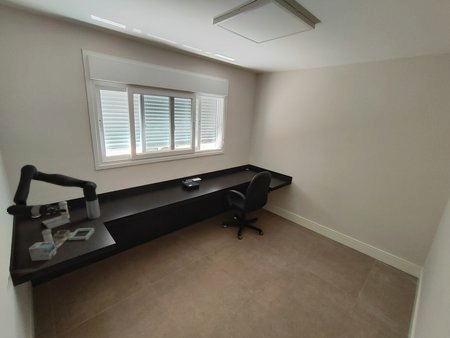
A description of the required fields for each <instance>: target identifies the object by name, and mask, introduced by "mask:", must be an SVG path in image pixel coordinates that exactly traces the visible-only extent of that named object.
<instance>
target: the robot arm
mask: <svg viewBox="0 0 450 338" xmlns="http://www.w3.org/2000/svg"><path fill="white" fill-rule="evenodd" d="M18 181H19V182H18V185H17V188H16V191H15V193H14V196H13V200H12V201H13V203H15V204H12V205H10V206H8V207H7V208H6V210H7V212H8V213H7V212H6V213H7V214H8V215H10V216H14V217H17V218H19V217H23V216H24V215H25V216H47V217H48V216H53V215H58V214H61V212H67V210H66V209H60V206H59V203H58V204H57V205H52V204H36V205H33V204H32V205H28V203H27V202H28V201H27V200H28V197H29V194H30V189H31V188H30V187H31V184H32V181H37V182H38V181H39V182H44V183H47V184H51V185H56V186H60V187H63V188H64V187H66V188H80V189H82V192H83V198H84V200H85V205H86V211H87V217H88V219H89V220H95V219H99V218H100V216H101V210H100V205H99V198H98V195H97V191H96V189H97V186H98V185H97V183H95V182H94V181H91V180H90V181H89V180H85V179H79V178H76V177H71V176H70V175H69V176H68V175H65V174H61V173H47V172H42V171H40V170H38V169H37V167H36V166H35V165H33V164H24V165H23V166H22V167H21V168H20V177H19V180H18ZM67 208H68V210H71V206H70V205H67Z"/></svg>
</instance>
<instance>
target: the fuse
mask: <svg viewBox="0 0 450 338" xmlns="http://www.w3.org/2000/svg"><path fill="white" fill-rule="evenodd" d="M41 234H42V237H43V242H50V241H53V239H52V237H53V235H52V228H51V229H49V228H45V229H43V230H42V231H41Z"/></svg>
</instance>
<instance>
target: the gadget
mask: <svg viewBox="0 0 450 338" xmlns="http://www.w3.org/2000/svg"><path fill="white" fill-rule="evenodd" d="M61 216H62V215H60V216H56V217H53V218H50V219H46V220H43V221H41V224H42V223H43V225H44V226H45V227H46V228H47V229H51V230H52V229H53V228H56V227H59V226H63V225H65V224H67V223H71V221H70V218H69V219H66V220H62V217H61Z"/></svg>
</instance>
